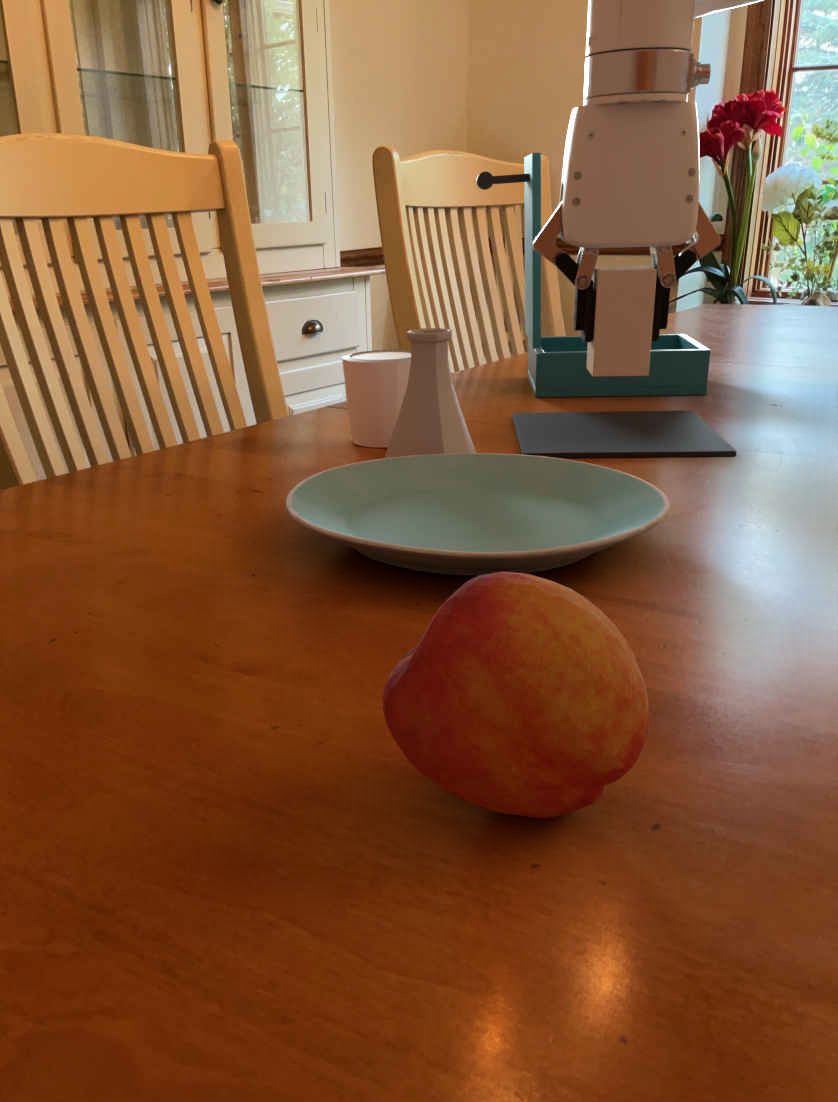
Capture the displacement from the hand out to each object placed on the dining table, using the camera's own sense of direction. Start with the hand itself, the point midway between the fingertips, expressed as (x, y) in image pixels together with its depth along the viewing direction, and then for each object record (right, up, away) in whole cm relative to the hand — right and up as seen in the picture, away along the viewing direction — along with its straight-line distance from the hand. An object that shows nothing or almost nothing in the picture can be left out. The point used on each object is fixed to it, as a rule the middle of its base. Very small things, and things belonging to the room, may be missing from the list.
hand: (619, 337), depth 84 cm
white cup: (-19, -8, +4) cm, 21 cm away
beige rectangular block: (0, -3, +1) cm, 3 cm away
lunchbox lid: (-3, +15, +20) cm, 25 cm away
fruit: (-15, -30, -48) cm, 59 cm away
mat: (0, -7, +3) cm, 8 cm away
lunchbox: (+5, +2, +25) cm, 26 cm away
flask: (-16, -12, -6) cm, 20 cm away
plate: (-14, -18, -21) cm, 31 cm away
